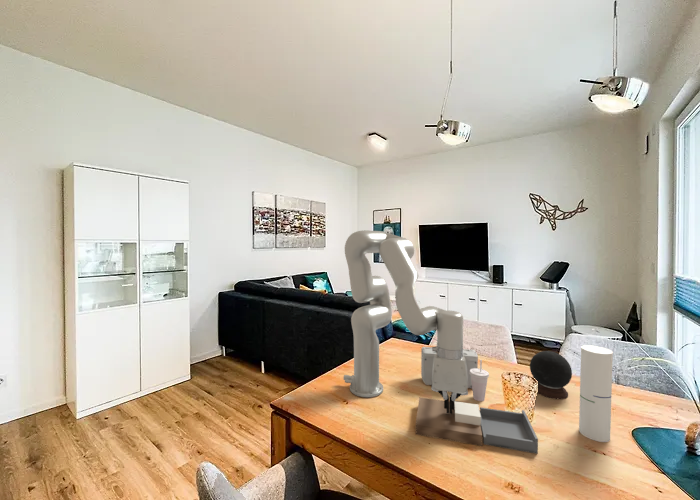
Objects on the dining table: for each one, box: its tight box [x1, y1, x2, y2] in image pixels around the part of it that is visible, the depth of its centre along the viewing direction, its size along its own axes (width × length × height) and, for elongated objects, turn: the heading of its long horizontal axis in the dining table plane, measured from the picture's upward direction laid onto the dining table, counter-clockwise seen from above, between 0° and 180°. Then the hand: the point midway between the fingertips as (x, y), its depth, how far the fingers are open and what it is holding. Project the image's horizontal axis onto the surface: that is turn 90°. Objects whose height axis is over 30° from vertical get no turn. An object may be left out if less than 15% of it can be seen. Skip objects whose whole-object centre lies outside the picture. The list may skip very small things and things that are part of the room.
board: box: [415, 396, 483, 447], centre depth 95 cm, size 18×16×3 cm
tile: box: [454, 400, 481, 426], centre depth 93 cm, size 7×7×2 cm
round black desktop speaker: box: [529, 350, 573, 400], centre depth 115 cm, size 13×13×15 cm
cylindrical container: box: [578, 344, 614, 443], centre depth 89 cm, size 7×7×25 cm
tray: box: [479, 407, 539, 455], centre depth 90 cm, size 13×14×4 cm
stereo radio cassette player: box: [420, 333, 479, 389], centre depth 121 cm, size 21×8×20 cm, turn 80°
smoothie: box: [470, 359, 490, 402], centre depth 110 cm, size 6×6×14 cm
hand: (449, 411), depth 95 cm, fingers closed
